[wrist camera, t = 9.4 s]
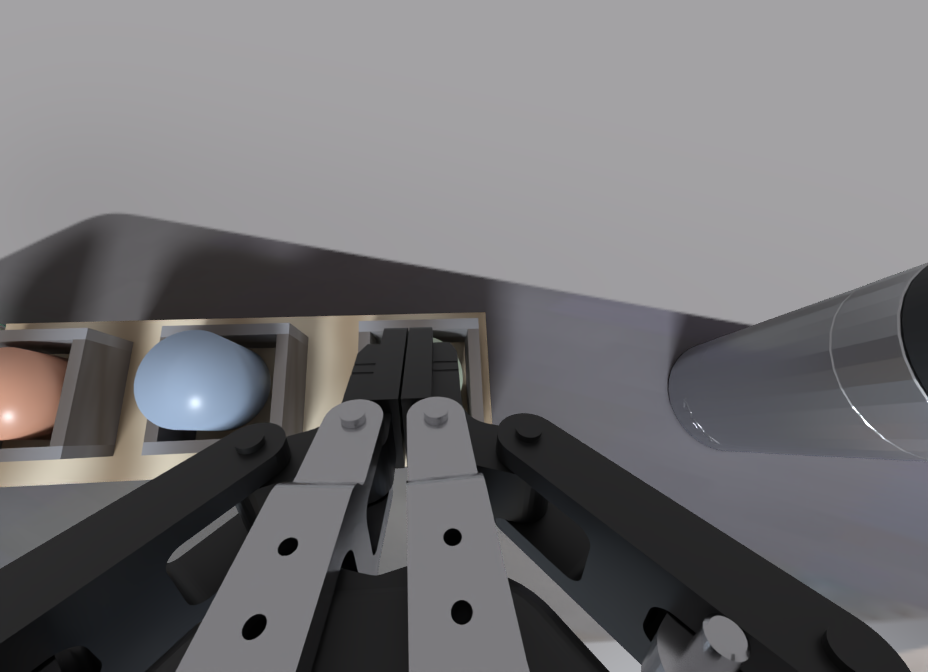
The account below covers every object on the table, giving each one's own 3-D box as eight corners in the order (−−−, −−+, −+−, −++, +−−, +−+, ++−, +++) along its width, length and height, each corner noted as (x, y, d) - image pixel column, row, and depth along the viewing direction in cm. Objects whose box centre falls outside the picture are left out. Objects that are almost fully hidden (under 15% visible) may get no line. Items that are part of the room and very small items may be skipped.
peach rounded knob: (109, 358, 22) (55, 345, 19) (94, 438, 21) (33, 438, 18) (26, 361, 22) (-43, 348, 19) (6, 441, 21) (-71, 442, 17)
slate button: (274, 344, 21) (244, 328, 18) (267, 429, 19) (234, 427, 16) (188, 347, 20) (142, 331, 17) (176, 433, 19) (125, 432, 16)
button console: (473, 345, 33) (491, 295, 21) (479, 455, 31) (502, 465, 19) (128, 355, 31) (-59, 306, 19) (107, 473, 29) (-119, 497, 17)
